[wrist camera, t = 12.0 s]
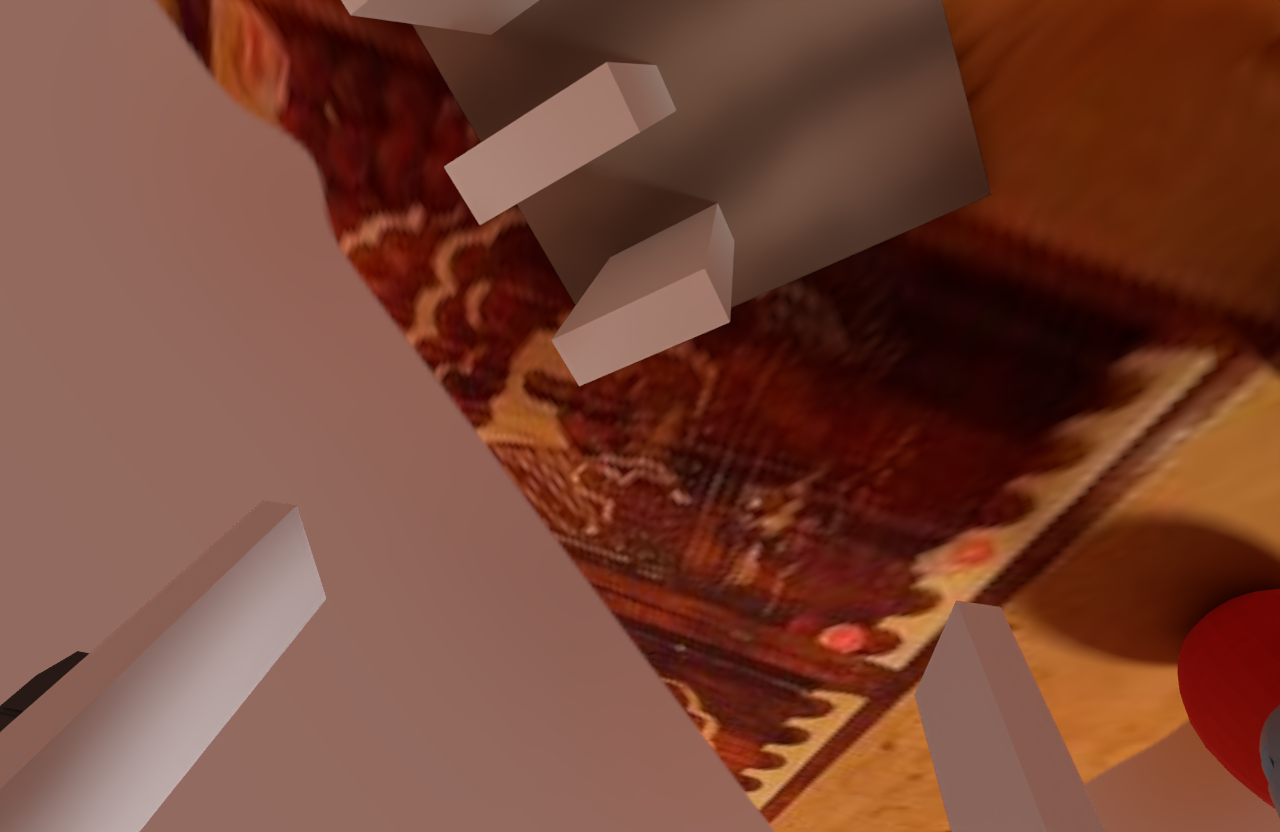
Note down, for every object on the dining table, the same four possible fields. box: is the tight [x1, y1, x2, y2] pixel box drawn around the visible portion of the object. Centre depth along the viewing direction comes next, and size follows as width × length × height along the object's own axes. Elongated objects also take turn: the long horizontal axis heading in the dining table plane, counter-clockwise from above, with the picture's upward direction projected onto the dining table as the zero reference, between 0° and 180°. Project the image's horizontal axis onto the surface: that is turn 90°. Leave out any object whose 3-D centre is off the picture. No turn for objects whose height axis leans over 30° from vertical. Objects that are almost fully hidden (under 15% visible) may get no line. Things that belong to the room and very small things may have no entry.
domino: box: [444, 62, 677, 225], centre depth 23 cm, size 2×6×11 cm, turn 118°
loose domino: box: [551, 203, 735, 386], centre depth 25 cm, size 2×6×11 cm, turn 118°
